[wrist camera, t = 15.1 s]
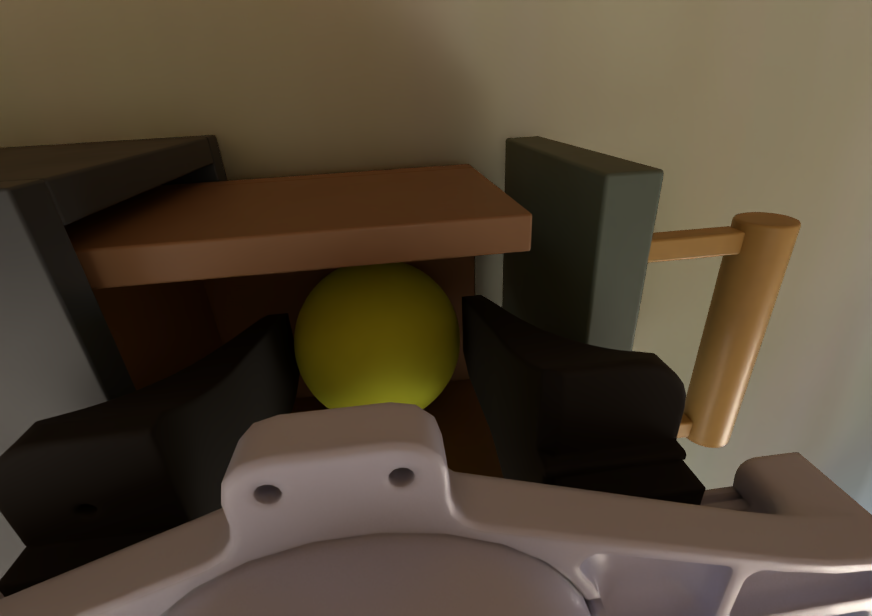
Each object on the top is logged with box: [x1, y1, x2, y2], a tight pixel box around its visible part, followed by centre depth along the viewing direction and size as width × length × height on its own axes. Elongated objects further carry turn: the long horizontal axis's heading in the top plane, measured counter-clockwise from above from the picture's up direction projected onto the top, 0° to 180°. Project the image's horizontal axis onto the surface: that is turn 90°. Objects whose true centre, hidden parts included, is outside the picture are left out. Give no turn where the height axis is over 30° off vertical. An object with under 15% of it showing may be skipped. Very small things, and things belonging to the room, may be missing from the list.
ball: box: [294, 262, 460, 409], centre depth 13 cm, size 5×5×5 cm
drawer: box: [64, 136, 801, 478], centre depth 14 cm, size 17×10×7 cm, turn 93°
